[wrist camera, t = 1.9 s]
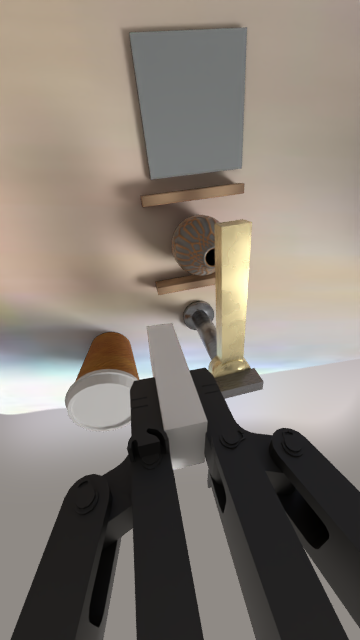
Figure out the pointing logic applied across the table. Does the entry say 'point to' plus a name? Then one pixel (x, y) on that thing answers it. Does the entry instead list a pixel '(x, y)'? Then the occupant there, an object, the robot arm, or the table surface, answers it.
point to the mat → (191, 99)
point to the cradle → (182, 196)
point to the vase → (195, 245)
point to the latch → (232, 309)
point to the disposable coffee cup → (103, 385)
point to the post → (202, 324)
